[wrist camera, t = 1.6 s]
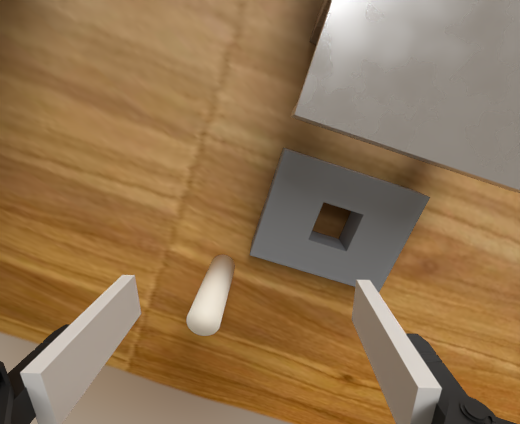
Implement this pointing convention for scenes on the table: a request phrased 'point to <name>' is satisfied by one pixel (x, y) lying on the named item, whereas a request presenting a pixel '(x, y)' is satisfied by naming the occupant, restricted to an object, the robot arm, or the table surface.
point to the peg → (211, 297)
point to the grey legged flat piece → (421, 81)
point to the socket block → (354, 232)
